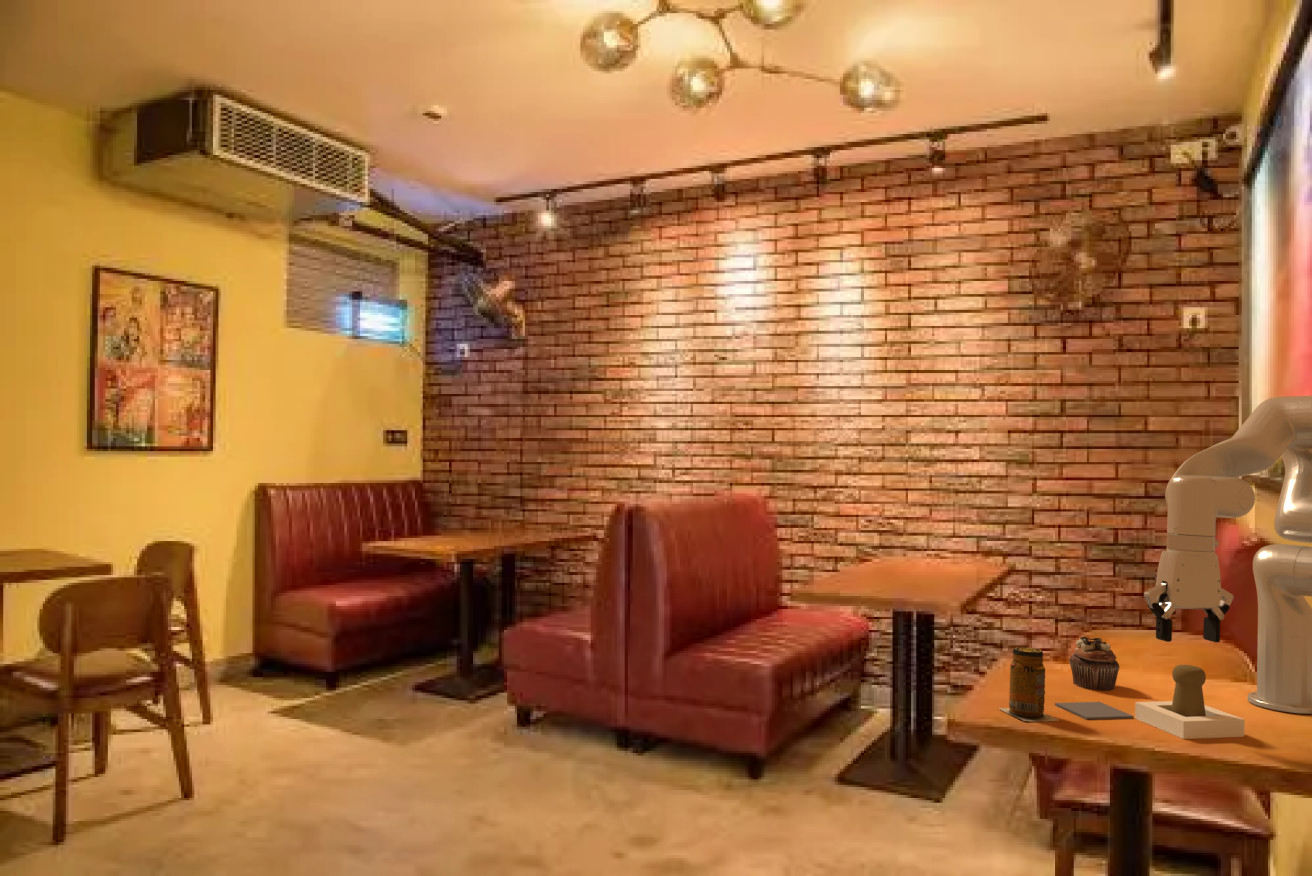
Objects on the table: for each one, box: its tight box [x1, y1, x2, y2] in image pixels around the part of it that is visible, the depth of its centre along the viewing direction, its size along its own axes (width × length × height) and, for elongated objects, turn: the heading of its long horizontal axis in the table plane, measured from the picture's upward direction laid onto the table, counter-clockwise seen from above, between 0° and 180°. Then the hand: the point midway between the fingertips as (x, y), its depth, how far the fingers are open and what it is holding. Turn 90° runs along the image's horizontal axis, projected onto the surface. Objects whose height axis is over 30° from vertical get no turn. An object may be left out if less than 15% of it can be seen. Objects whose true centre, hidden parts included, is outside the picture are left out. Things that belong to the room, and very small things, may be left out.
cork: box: [1171, 664, 1207, 717], centre depth 165 cm, size 6×6×11 cm
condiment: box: [998, 646, 1061, 723], centre depth 170 cm, size 7×8×12 cm
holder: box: [1134, 700, 1245, 740], centre depth 165 cm, size 12×12×3 cm
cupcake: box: [1068, 636, 1120, 692], centre depth 194 cm, size 10×10×10 cm
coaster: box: [1054, 701, 1134, 721], centre depth 174 cm, size 10×10×1 cm
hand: (1187, 640), depth 165 cm, fingers open, 9 cm apart
